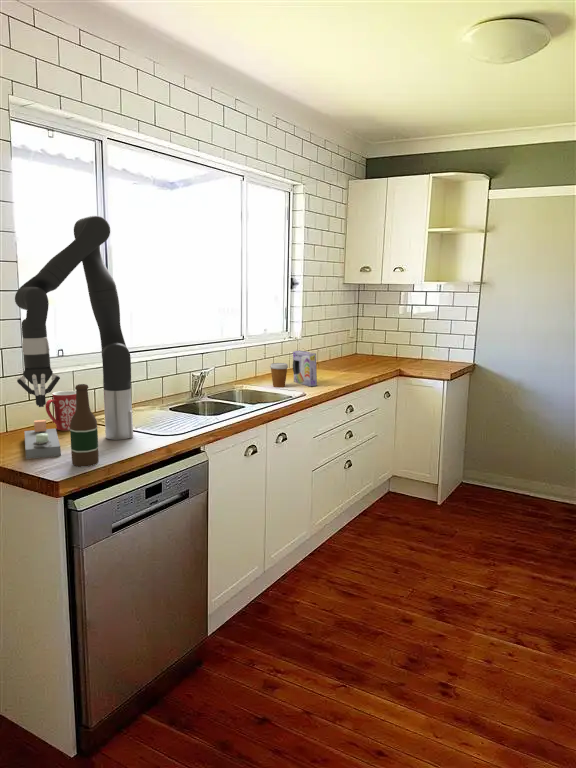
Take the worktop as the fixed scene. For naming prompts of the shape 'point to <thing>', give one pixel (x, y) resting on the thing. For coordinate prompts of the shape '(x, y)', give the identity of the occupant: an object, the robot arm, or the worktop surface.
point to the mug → (62, 408)
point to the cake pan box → (304, 368)
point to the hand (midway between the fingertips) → (41, 406)
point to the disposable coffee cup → (279, 374)
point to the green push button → (42, 437)
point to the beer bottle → (83, 431)
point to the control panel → (42, 449)
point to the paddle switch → (40, 425)
